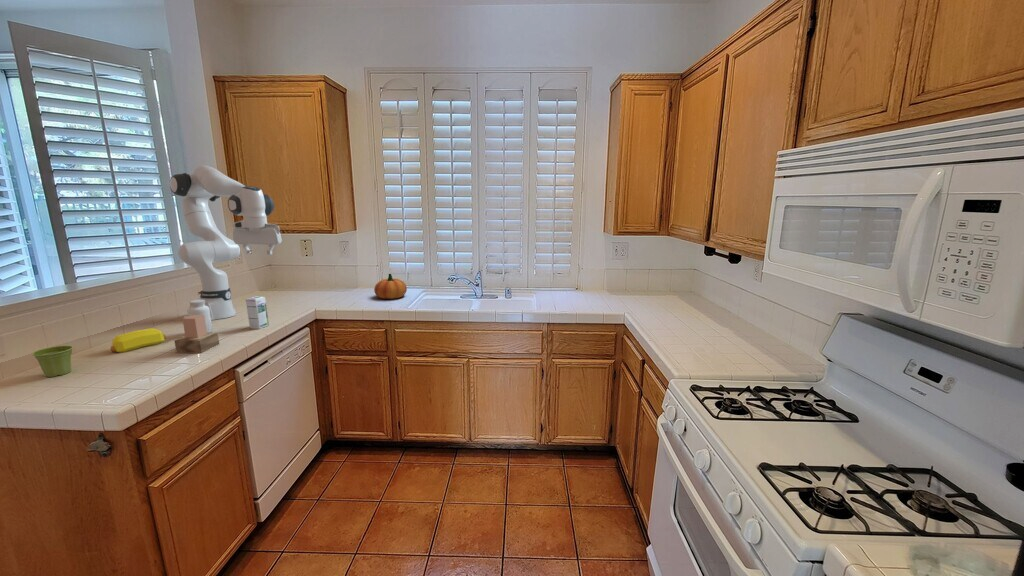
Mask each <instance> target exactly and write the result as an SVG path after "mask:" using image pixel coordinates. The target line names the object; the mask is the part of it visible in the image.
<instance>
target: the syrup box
mask: <svg viewBox="0 0 1024 576" xmlns="http://www.w3.org/2000/svg"><path fill="white" fill-rule="evenodd" d="M245 303H246V304H245V305H246V313H247V318H248V325H249V329H254V328H256V330H257V329H259V330H260V329H264V328H266V327H268V326H270V324H269V317H268V311H267V309H268V308H267V301H266V297H265V296H263V295H262V296H261V295H257V296H252V297H249V298H246V299H245Z"/></svg>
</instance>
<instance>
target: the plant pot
mask: <svg viewBox="0 0 1024 576" xmlns="http://www.w3.org/2000/svg"><path fill="white" fill-rule="evenodd" d="M73 349H74V346H72V345H57V346H50V347H45V348H41V349H38V350H35V351H34V352H32V353H31V355H32V356H33V357H35V359H36V360H37V362H38V364H39V366H40V368H41V370H42V373H43V374H44V377H48V378H53V377H56V376H64V375H67V374H69V373H70V372H71V371H72V351H73Z"/></svg>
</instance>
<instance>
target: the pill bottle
mask: <svg viewBox="0 0 1024 576" xmlns="http://www.w3.org/2000/svg"><path fill="white" fill-rule="evenodd" d="M190 306H191V307H190ZM189 307H190V308H189ZM189 307H188V309H187V312H186V313H187V315H188V316H191V315H204V316H205V323H206V329H207V333H213V325H212V320H211V317H210V310H209V307H208V306H205V300H198V299H194V300H190V301H189Z"/></svg>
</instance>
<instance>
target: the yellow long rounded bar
mask: <svg viewBox="0 0 1024 576" xmlns="http://www.w3.org/2000/svg"><path fill="white" fill-rule="evenodd" d="M165 341H166V334H164V333H163V331H162V330H160V329H158V328H155V327H152V328H145V329H144V328H143V329H138V330H133V331H129V332H125V333H121V334H118V335H115V337H114V338H113V339H112V341H111V343H112V344H111V346H110V348H109V350H110V351H111V352H116V353H117V352H118V353H126V352H129V351H133V350H136V349H140V348H142V347H143V348H144V347H149V346H150V347H151V346H154V344H155V345H159V343H160V344H162V343H163V342H165Z"/></svg>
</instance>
